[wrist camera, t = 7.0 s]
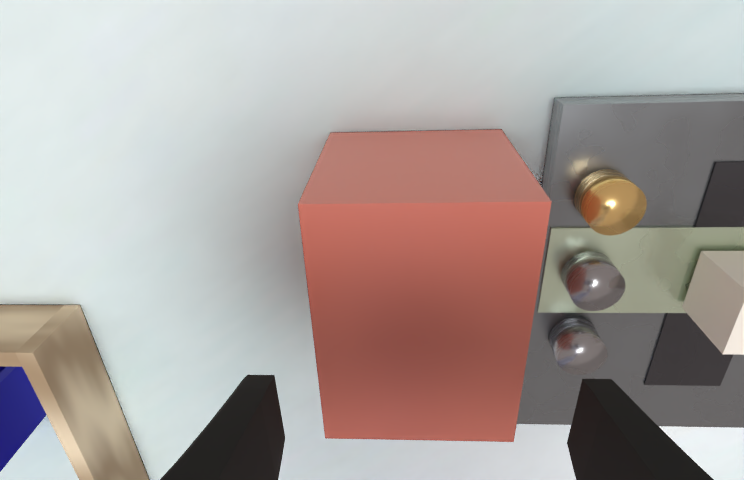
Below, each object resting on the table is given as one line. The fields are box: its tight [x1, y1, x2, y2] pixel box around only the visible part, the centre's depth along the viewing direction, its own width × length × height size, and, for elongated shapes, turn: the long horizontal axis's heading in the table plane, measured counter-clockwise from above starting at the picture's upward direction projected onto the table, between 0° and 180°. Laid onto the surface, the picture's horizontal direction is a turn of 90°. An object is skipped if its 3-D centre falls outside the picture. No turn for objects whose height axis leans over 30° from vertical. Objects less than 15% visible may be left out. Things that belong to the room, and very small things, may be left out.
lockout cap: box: [298, 129, 552, 442], centre depth 16 cm, size 8×6×6 cm
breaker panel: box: [517, 93, 744, 427], centre depth 18 cm, size 14×11×2 cm
